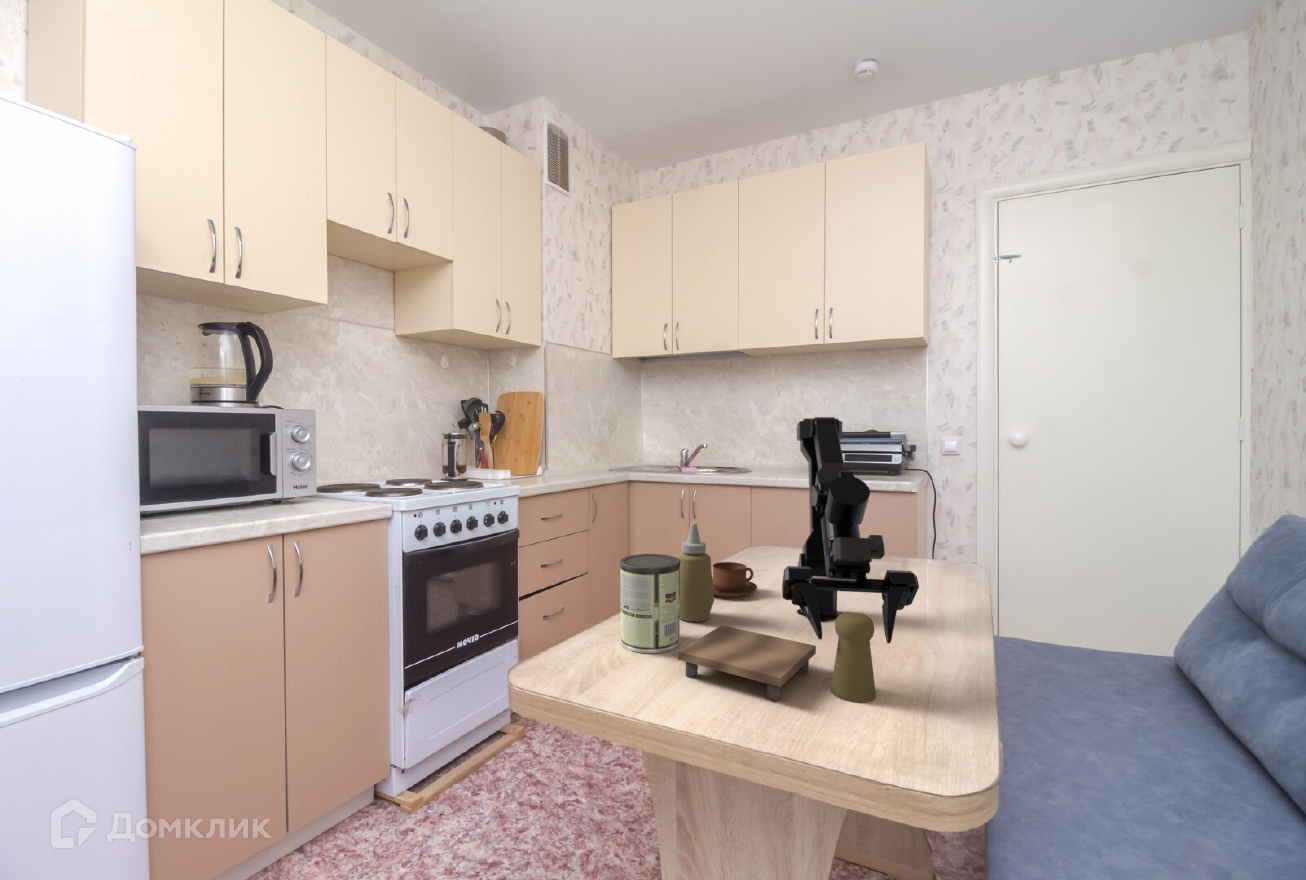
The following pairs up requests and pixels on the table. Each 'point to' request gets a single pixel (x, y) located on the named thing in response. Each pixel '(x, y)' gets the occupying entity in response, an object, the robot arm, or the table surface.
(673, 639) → the coffee can
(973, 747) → the table surface
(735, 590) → the cup and saucer
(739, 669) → the small wooden stand
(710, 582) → the squeeze bottle
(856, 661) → the olive pepper shaker
